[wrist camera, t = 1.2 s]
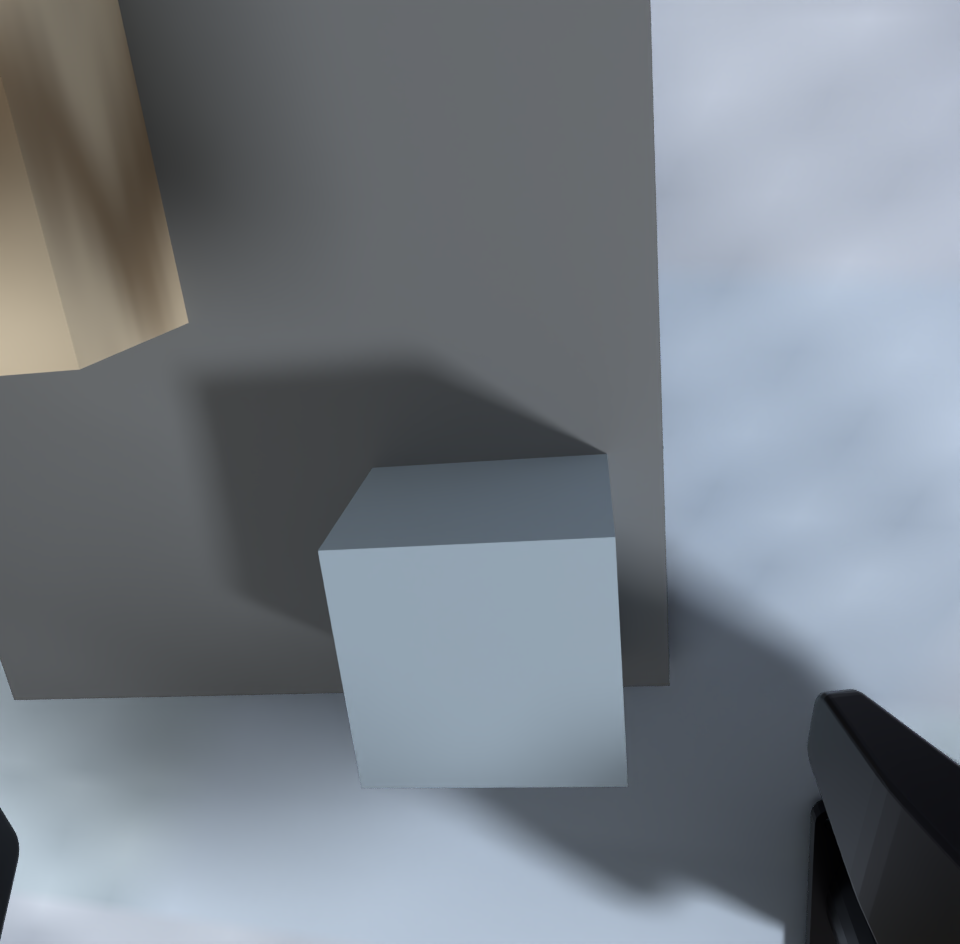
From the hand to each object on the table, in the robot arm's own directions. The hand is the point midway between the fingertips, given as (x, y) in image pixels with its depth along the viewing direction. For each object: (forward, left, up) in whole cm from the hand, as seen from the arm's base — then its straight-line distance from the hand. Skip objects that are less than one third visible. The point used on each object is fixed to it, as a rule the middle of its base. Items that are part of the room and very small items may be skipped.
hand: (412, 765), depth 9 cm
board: (+2, +5, -12) cm, 13 cm away
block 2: (-3, 0, -11) cm, 11 cm away
